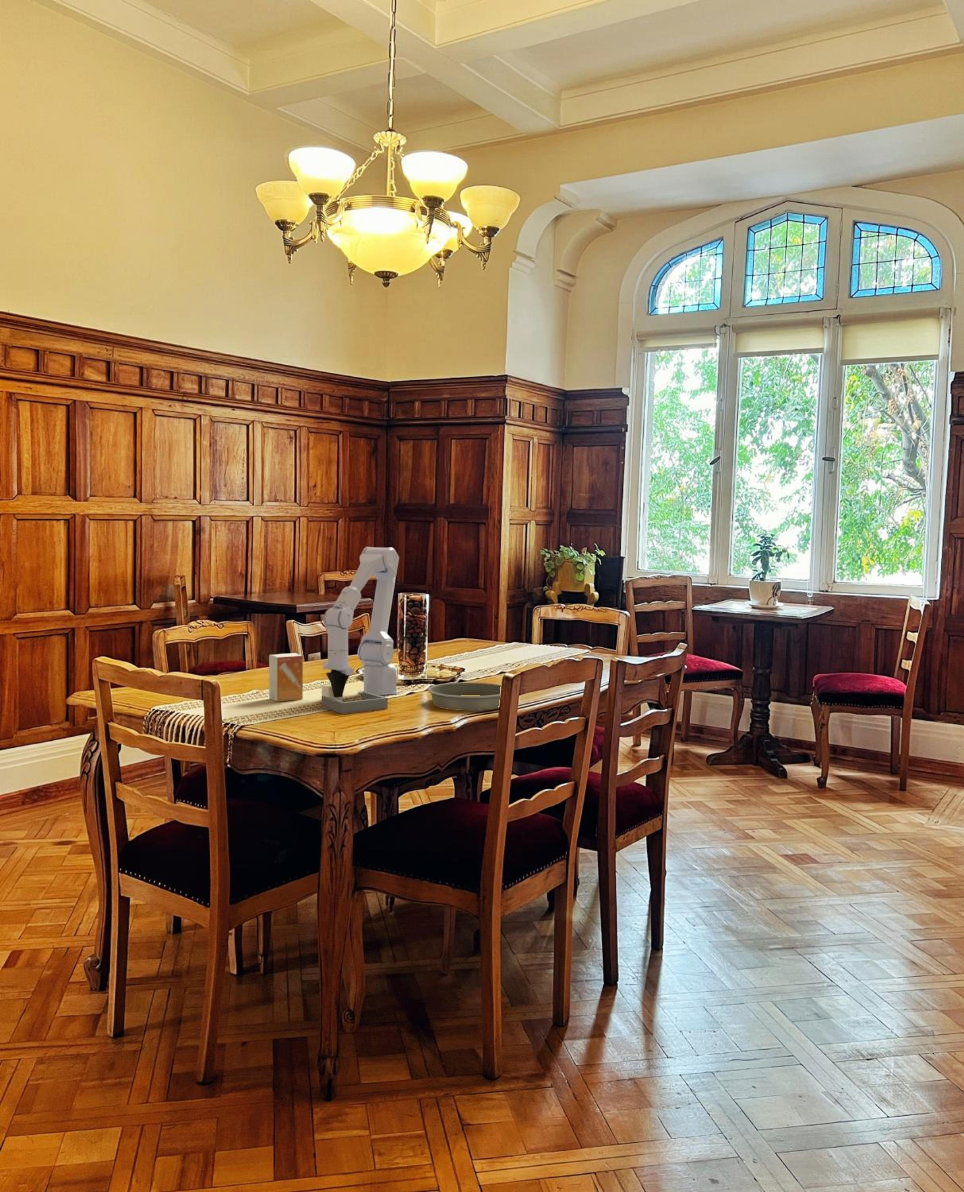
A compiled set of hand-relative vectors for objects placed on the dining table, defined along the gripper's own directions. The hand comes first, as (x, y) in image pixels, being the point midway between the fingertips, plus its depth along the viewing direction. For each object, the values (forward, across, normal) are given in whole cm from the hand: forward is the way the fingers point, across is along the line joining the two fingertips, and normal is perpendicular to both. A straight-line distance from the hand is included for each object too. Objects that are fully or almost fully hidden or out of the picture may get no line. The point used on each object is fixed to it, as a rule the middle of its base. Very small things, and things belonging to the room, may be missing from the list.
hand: (338, 696), depth 289 cm
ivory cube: (+2, -4, 0) cm, 4 cm away
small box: (+2, -13, -10) cm, 17 cm away
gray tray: (+2, +10, 0) cm, 10 cm away
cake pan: (+2, +22, +31) cm, 38 cm away
